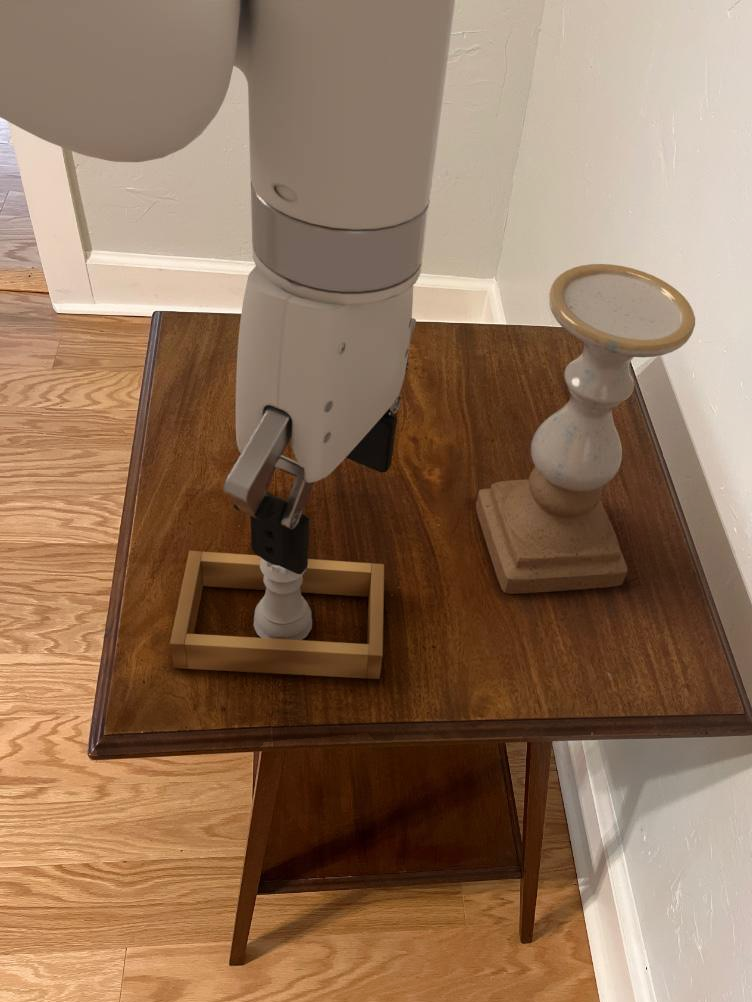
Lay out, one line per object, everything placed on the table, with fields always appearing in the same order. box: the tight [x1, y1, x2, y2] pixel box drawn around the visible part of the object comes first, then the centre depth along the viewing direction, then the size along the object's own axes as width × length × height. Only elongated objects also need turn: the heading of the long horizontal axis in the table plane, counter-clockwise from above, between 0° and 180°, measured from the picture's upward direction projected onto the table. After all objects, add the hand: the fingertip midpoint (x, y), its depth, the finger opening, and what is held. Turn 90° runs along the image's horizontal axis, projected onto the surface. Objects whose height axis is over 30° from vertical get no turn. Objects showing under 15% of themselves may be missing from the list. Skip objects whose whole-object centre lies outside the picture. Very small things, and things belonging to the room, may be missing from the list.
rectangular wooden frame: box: [169, 550, 385, 680], centre depth 69 cm, size 15×9×3 cm, turn 92°
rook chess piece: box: [253, 559, 313, 640], centre depth 67 cm, size 4×4×8 cm
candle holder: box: [475, 263, 696, 595], centre depth 71 cm, size 11×11×24 cm
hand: (325, 508), depth 53 cm, fingers open, 9 cm apart
